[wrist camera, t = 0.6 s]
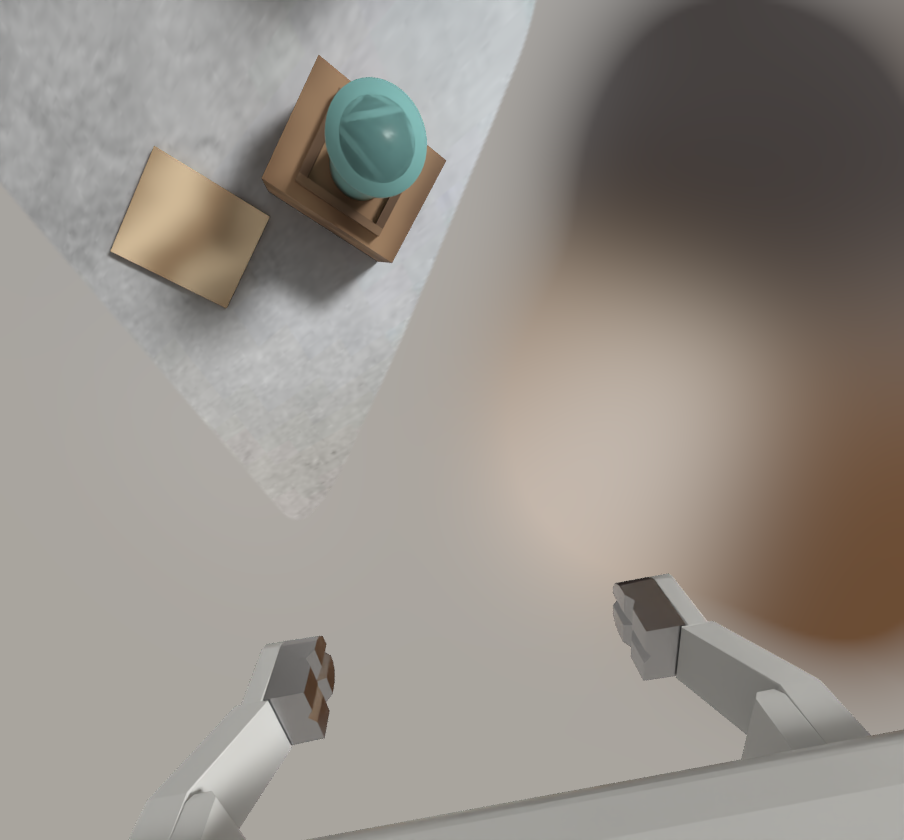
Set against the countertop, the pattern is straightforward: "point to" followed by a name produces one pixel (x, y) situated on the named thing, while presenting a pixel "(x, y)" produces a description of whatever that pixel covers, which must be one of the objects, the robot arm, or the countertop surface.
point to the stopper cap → (374, 139)
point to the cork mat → (189, 229)
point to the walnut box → (311, 185)
